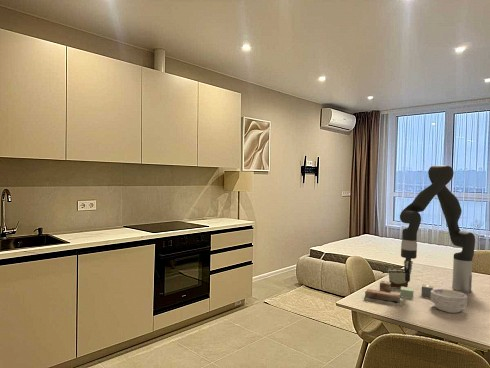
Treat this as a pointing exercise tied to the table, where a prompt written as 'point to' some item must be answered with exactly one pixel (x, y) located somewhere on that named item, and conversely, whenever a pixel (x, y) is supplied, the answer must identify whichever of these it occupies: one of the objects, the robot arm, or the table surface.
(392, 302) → the packaged product
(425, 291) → the charcoal striped block
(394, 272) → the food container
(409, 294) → the plain sage block
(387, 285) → the walnut striped block
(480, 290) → the table surface
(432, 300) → the paper bowls
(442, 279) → the table surface
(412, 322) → the table surface
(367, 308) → the table surface
